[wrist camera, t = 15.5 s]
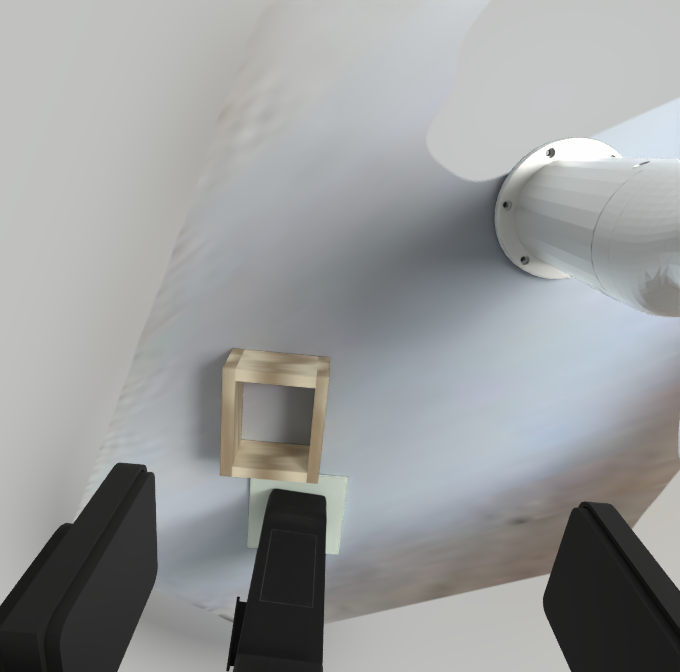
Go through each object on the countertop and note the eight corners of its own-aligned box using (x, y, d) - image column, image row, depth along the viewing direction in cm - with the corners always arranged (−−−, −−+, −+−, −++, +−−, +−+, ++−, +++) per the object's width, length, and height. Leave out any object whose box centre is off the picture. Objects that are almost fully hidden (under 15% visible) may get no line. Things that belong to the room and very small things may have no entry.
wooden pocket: (329, 357, 51) (329, 378, 46) (319, 455, 55) (317, 483, 50) (232, 348, 51) (222, 368, 46) (229, 447, 55) (219, 475, 50)
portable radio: (254, 527, 58) (199, 780, 35) (261, 485, 56) (207, 724, 33) (320, 536, 59) (309, 792, 35) (329, 495, 57) (323, 738, 33)
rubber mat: (348, 476, 56) (348, 479, 56) (338, 551, 60) (338, 554, 60) (251, 468, 56) (250, 470, 55) (247, 544, 60) (247, 547, 59)
